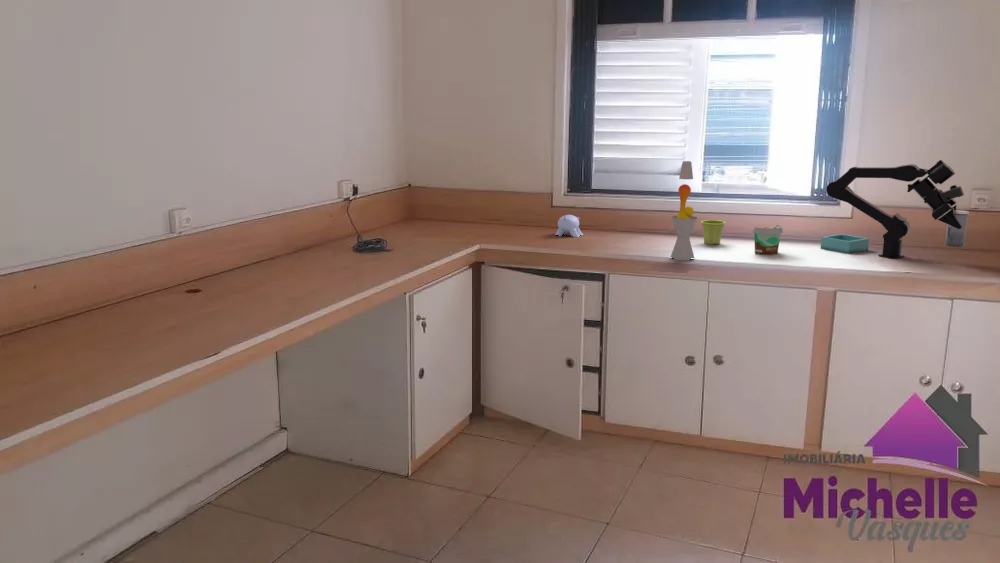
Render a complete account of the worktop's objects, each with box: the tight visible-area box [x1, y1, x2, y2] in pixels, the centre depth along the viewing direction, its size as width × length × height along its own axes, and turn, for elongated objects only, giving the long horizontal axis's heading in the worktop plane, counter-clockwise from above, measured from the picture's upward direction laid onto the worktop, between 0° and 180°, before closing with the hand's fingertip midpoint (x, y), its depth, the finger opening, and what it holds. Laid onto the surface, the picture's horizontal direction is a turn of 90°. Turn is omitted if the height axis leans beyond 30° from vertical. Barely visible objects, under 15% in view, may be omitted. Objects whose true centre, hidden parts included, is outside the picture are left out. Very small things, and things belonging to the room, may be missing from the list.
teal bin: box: [820, 233, 870, 255], centre depth 308 cm, size 12×12×4 cm
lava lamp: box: [670, 160, 698, 261], centre depth 290 cm, size 9×9×35 cm
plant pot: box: [700, 219, 726, 245], centre depth 321 cm, size 9×9×9 cm
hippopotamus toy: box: [554, 214, 584, 238], centre depth 342 cm, size 11×15×10 cm
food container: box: [752, 224, 784, 256], centre depth 300 cm, size 12×6×10 cm, turn 117°
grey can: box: [944, 209, 970, 248], centre depth 281 cm, size 6×6×12 cm
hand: (961, 227), depth 280 cm, fingers closed on grey can, 6 cm apart
